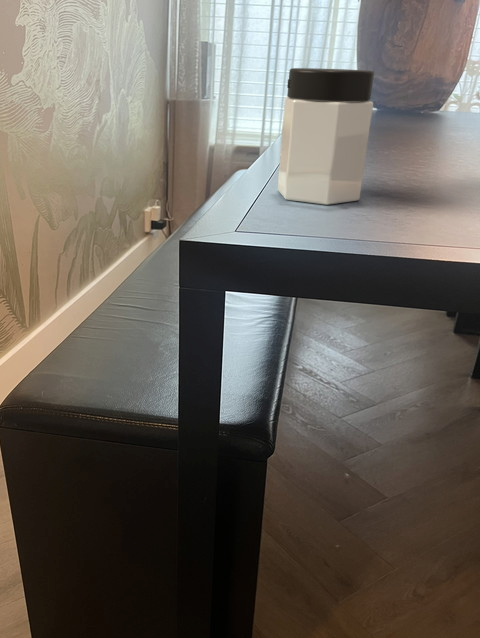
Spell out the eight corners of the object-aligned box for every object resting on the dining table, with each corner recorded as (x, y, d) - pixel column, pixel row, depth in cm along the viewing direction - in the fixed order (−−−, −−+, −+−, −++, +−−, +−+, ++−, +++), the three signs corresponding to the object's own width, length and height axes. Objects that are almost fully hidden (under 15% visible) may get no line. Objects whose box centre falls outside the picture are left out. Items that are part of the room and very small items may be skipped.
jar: (321, 185, 69) (334, 68, 64) (375, 199, 64) (395, 71, 58) (259, 192, 65) (268, 67, 59) (311, 208, 59) (327, 70, 53)
